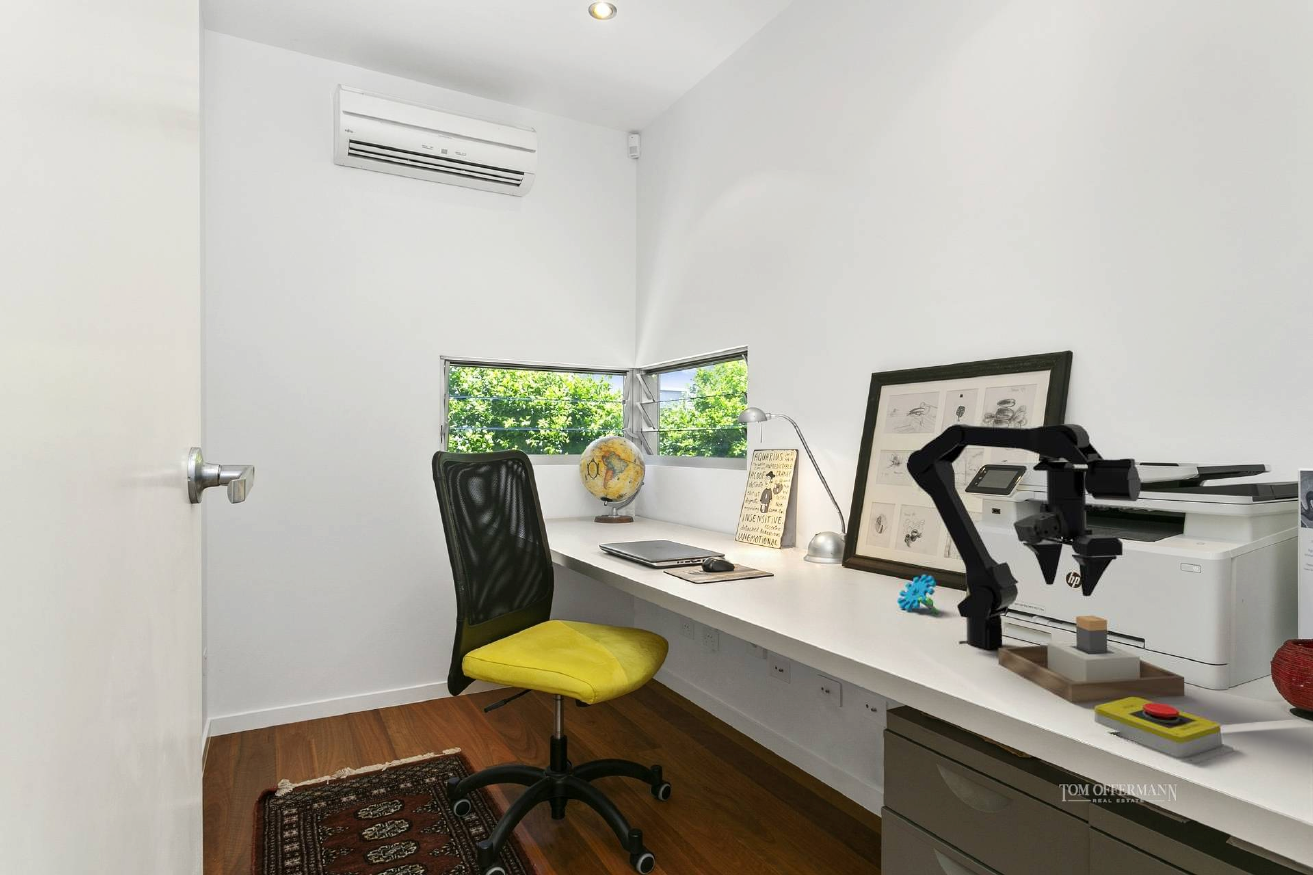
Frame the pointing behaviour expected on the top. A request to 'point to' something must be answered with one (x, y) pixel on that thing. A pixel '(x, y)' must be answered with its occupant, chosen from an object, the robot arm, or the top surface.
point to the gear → (918, 594)
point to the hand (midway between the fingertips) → (1067, 590)
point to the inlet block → (1092, 663)
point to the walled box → (1035, 669)
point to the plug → (1091, 634)
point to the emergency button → (1163, 729)
